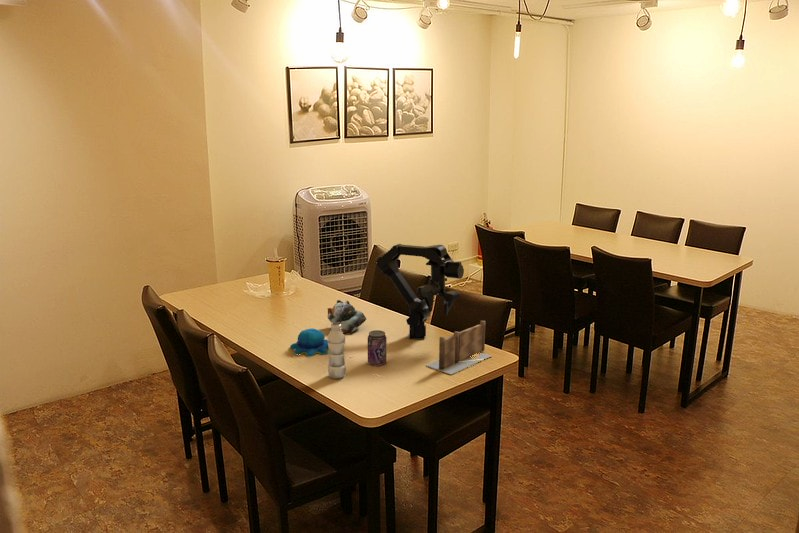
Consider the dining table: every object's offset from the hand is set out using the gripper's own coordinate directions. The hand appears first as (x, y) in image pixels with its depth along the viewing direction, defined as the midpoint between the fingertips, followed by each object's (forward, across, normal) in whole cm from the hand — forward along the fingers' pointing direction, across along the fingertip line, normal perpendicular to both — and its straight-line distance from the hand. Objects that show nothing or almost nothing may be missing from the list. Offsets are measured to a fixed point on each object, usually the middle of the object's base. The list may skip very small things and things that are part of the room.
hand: (438, 313), depth 259 cm
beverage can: (+12, -2, -34) cm, 36 cm away
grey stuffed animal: (+11, -38, -16) cm, 43 cm away
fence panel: (+12, +20, -4) cm, 24 cm away
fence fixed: (+12, +20, -18) cm, 30 cm away
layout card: (+13, +20, -11) cm, 26 cm away
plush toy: (+11, -31, -42) cm, 53 cm away
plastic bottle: (+12, -2, -53) cm, 55 cm away
